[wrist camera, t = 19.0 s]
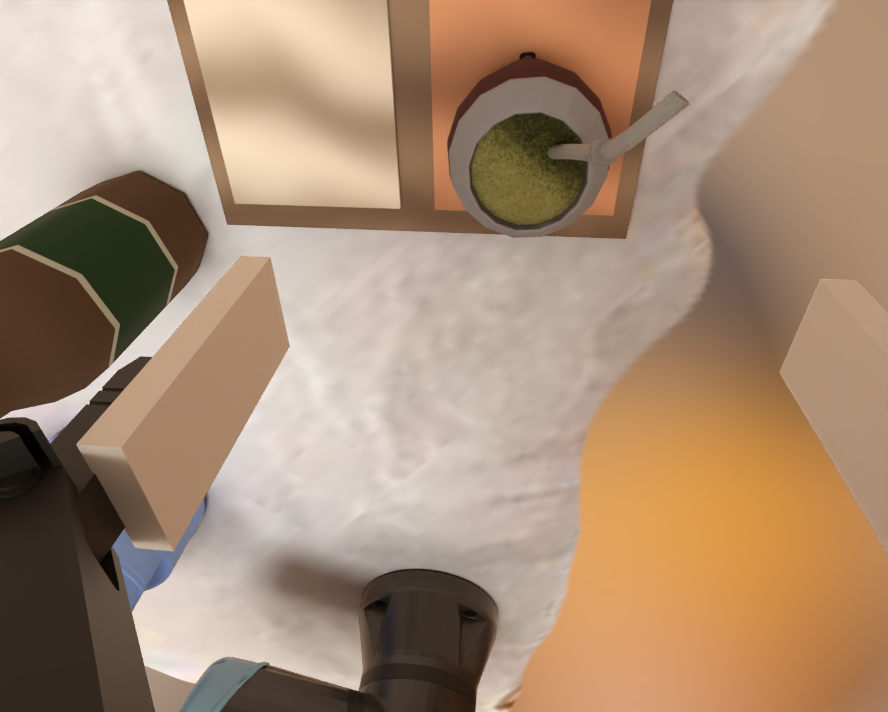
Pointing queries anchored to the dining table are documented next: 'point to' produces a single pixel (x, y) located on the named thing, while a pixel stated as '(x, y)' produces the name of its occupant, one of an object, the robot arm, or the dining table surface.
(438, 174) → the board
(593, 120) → the mate gourd
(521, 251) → the dining table surface
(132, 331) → the beer bottle
